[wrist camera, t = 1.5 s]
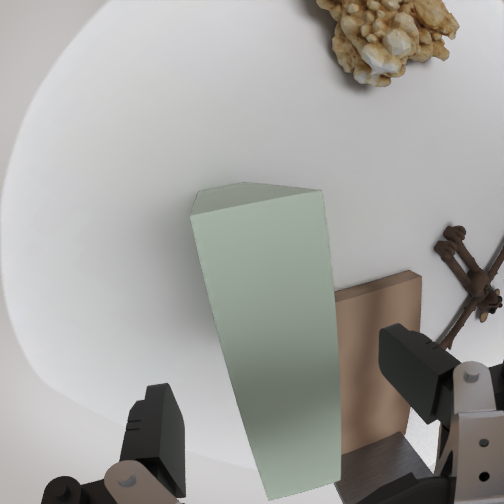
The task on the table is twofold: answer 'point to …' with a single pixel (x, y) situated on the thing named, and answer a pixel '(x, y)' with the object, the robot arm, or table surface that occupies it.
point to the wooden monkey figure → (469, 279)
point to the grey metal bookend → (377, 467)
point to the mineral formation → (388, 35)
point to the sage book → (276, 325)
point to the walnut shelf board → (372, 356)
